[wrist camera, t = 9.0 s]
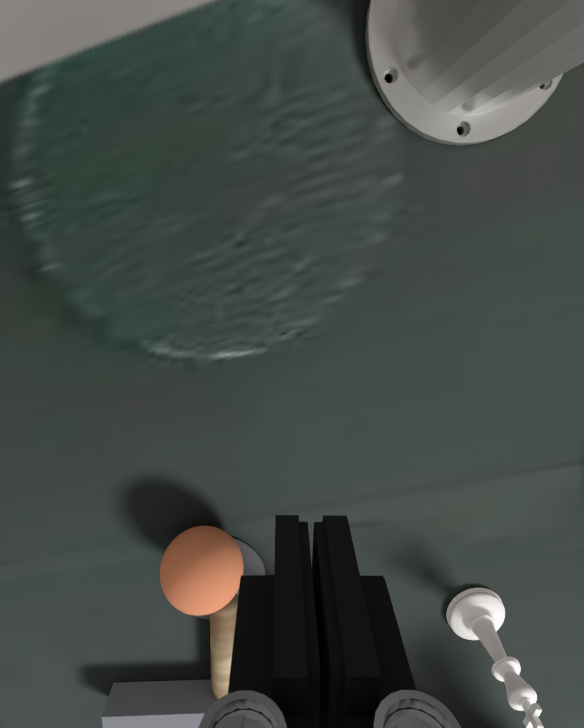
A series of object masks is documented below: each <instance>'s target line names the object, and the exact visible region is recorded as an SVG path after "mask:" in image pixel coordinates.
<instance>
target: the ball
mask: <svg viewBox="0 0 584 728" xmlns="http://www.w3.org/2000/svg"><path fill="white" fill-rule="evenodd" d="M243 569H244V566H243V558H242V554H241V551H240V548H239V546H238V544H237V543H236V542H235V540H234V539H233V538H232V537H231V536H230V535H229V534H228V533H226V532H225V531H223V530H221V529H219V528H217V527H213V526H197V527H193V528H190V529H188V530H186V531H184V532H182V533H181V534H179V535H178V536H177V537H176V538H175V539H174V540H173V541H172V542H171V543H170V545H169V546H168V548H167V549H166V551H165V553H164V555H163V558H162V561H161V566H160V581H161V587H162V589H163V592H164V594H165V596H166V598H167V599H168V600H169V602H170V603H171V604H172V605H173V606H174V607H175V608H177V609H178V610H180V611H181V612H184V613H186V614H190V615H197V616H201V615H207V614H211V613H214V612H216V611H218V610H220V609H221V608H223V607H224V606H225V605H227V604H228V603H229V602H230V601H231V600H232V598H233V597H234V596H235V594H236V593H237V591H238V589H239V585H240V578H241V575H243Z"/></svg>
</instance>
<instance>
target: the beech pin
mask: <svg viewBox="0 0 584 728" xmlns="http://www.w3.org/2000/svg"><path fill="white" fill-rule="evenodd" d="M237 604H238V594H235V596H234V597H233V598H232V600H231V601H230V602H229V603H228V604H227V605H225V606H224V607H223V608H221V609H220V610H218V611H216V612H214V613H211V614H210V645H211V693H212V696H213V698H214V699H215V700H216V701H217V700H219V699H220V698H221V697H223V696H224V695H226V694H228V687H229V678H230V669H231V659H232V650H233V641H234V632H235V622H236V613H237Z"/></svg>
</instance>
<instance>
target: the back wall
mask: <svg viewBox="0 0 584 728" xmlns="http://www.w3.org/2000/svg"><path fill="white" fill-rule="evenodd" d="M214 702H216V700H215V699H214V698H213V696H212V693H211V679H208V680H177V681H147V682H116V683H113V685H112V688H111V691H110V694H109V697H108V700H107V703H106V706H105V709H104V712H103V715H102V724H103V728H198V727H199V725H200V722H201V720H202V718H203V716H204V714H205V713H206V711H207V710H208V709H209V708H210V707H211V705H212V704H213V703H214Z"/></svg>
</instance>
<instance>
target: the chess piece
mask: <svg viewBox="0 0 584 728" xmlns="http://www.w3.org/2000/svg"><path fill="white" fill-rule="evenodd" d="M446 617H447V621H448V624H449V625H450V627H451V628H452V630H453V631H454V632H455V633H456V634H457V635H458V636H460V637H462V638H464V639H468V640H480V641H481V642H482V644H483V645H484V647H485V648H486V649H487V651H488V652H489V654H490V655H491V657H492V658H493V660H494V661H495V663H494V664H493V666H492V674H493V675H494V676H495V677H496V679H498V680H499V681H503V682H505V687H506V691H507V698H508V702H509V704H510V706H511V707H512V708H513V709H515V710H519V711H525V713H526V716H525V718H524V720H523V723H524V725H525V727H526V728H543V727H544V726H543V725H542V723H541V721H540V719H539V718H538V717H539V715H540V713H541V712H542V709H541V707H540V706H539V704H536V700H537V694H536V692H535V690H534V689H533V688H532V687H531V686H530V685H529V684H527V683H526V682H525V681H524V680H523V679H522V678H521V677H520V676H519V673H520V670H521V667H520V664H519V662H518V660H517V659H515V658H513V657H507V656H506V653H505V651H504V649H503V647H502V644H501V642H500V640H499V637H498V635H497V632H496V631H497V630H498V629H499V628H500V627H501V625H502V623H503V621H504V618H505V609H504V606H503V604H502V601H501V599H500V597H499V596H498V595H497V594H496V593H495V592H493V591H492V590H489V589H486V588H471V589H468V590H465V591H463V592H461V593H459V594H458V595H457V596H455V597H454V598H453V600H452V601H451V602H450V604H449V606H448V608H447V613H446Z"/></svg>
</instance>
